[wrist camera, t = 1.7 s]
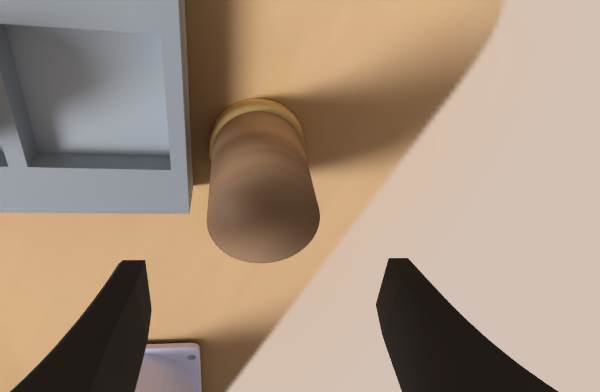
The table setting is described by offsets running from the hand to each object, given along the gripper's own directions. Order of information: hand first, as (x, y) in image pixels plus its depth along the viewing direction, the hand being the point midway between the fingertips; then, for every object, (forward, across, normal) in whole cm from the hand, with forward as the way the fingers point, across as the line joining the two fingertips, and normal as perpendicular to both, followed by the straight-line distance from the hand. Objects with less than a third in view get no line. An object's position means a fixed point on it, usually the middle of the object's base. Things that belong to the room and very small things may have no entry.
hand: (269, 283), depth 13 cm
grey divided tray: (+9, +10, -2) cm, 13 cm away
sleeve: (+9, 0, 0) cm, 9 cm away
